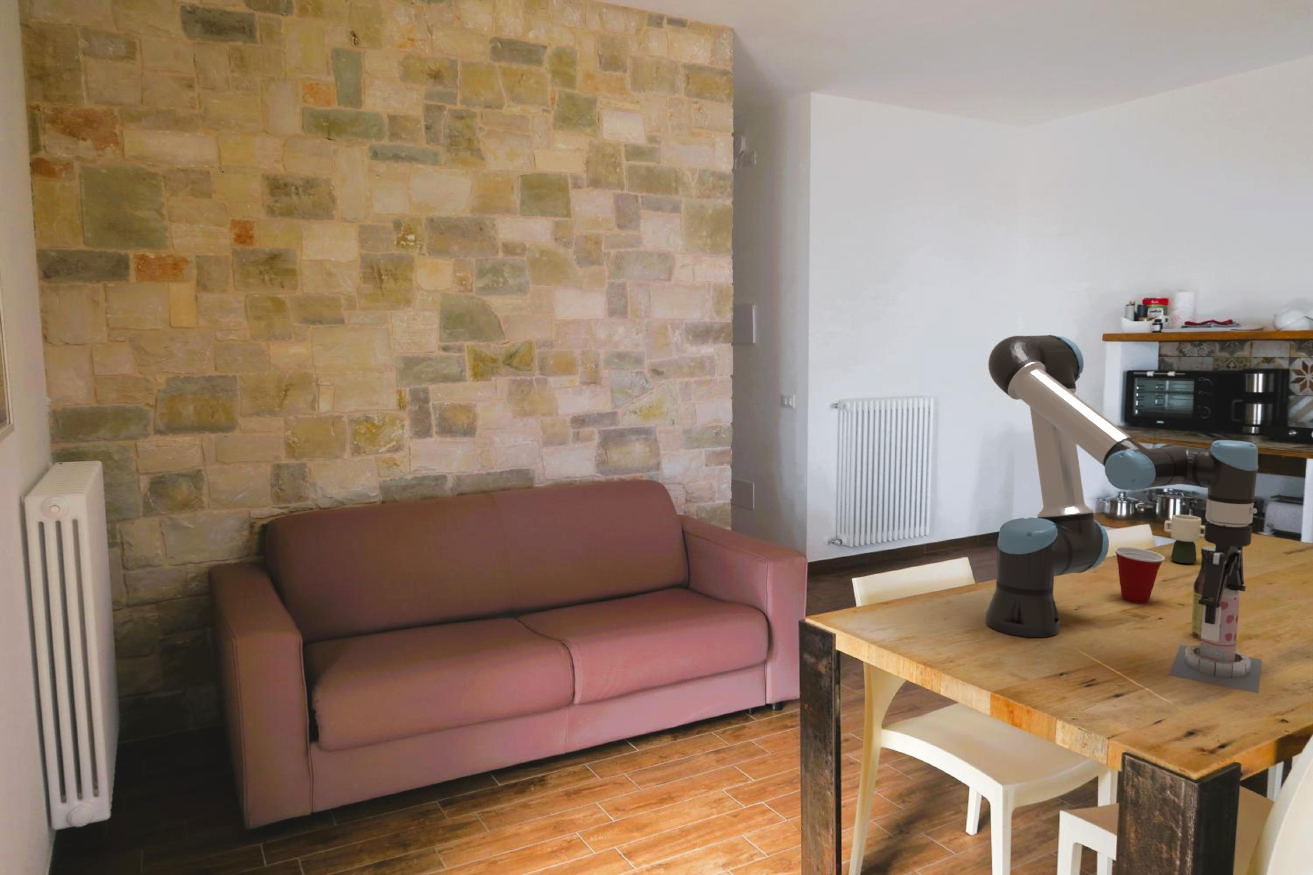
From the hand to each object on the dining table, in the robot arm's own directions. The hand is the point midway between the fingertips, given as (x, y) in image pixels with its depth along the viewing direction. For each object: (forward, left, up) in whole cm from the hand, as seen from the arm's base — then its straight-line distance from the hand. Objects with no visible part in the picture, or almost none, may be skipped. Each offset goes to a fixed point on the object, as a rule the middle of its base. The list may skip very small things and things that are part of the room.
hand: (1219, 630), depth 172 cm
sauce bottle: (+11, +15, -8) cm, 20 cm away
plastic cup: (+15, +42, -8) cm, 45 cm away
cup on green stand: (+52, +71, -8) cm, 88 cm away
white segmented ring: (0, 0, -7) cm, 7 cm away
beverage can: (0, 0, -7) cm, 7 cm away
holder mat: (0, 0, -8) cm, 8 cm away
